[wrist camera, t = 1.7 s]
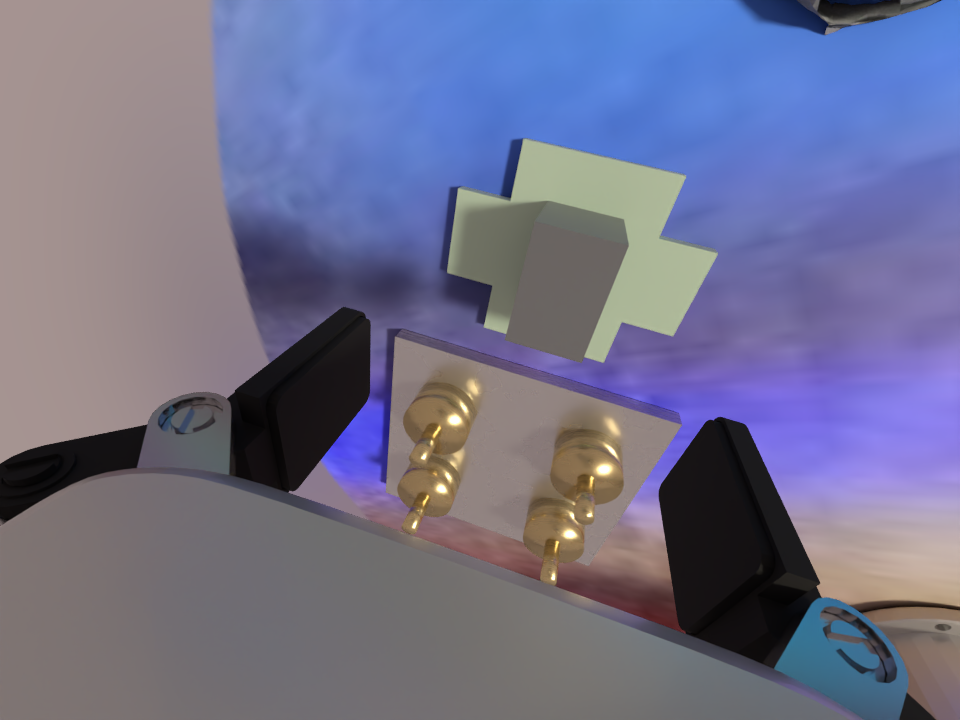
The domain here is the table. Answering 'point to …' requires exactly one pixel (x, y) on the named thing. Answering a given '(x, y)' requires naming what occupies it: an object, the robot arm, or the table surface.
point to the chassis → (516, 449)
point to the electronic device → (860, 11)
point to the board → (589, 186)
